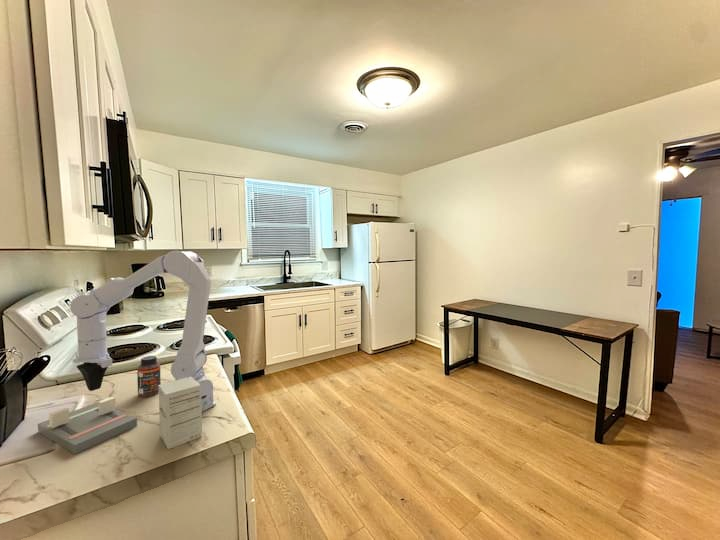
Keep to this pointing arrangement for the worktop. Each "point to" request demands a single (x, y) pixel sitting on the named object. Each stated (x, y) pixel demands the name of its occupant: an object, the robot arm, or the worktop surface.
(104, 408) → the block
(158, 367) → the supplement bottle
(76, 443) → the board
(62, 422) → the block
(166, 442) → the supplement box
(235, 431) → the worktop surface
